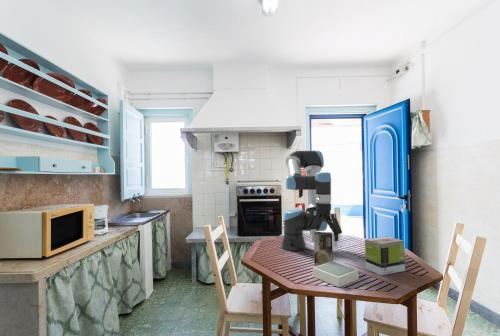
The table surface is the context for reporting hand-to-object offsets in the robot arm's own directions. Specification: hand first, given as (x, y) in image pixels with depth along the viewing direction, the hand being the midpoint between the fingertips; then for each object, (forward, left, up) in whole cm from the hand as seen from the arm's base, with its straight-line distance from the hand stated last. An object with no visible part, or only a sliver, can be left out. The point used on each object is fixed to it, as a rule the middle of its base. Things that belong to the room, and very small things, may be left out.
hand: (323, 244), depth 139 cm
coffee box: (0, 0, -11) cm, 11 cm away
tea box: (+22, +18, -11) cm, 30 cm away
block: (+14, -9, -10) cm, 19 cm away
